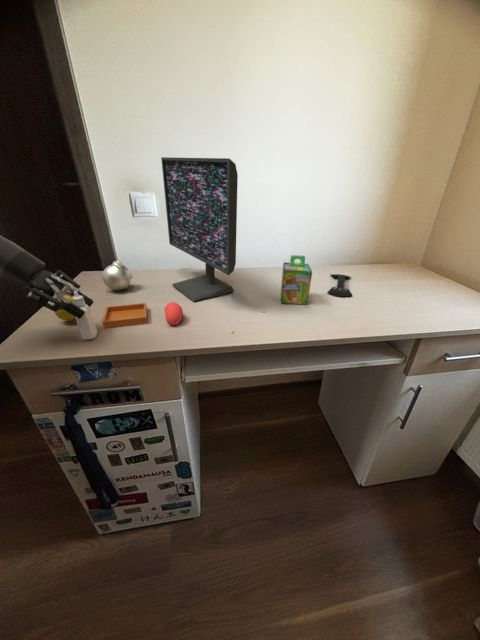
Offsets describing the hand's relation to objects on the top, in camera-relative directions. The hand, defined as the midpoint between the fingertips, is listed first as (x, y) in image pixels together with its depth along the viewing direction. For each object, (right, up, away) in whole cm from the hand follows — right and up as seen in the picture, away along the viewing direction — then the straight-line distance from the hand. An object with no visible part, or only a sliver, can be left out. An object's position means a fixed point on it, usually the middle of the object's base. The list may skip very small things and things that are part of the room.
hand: (87, 309), depth 70 cm
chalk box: (+55, +8, +29) cm, 62 cm away
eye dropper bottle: (-2, -6, +4) cm, 8 cm away
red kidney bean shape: (+18, -1, +13) cm, 22 cm away
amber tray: (+4, -1, +13) cm, 13 cm away
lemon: (-11, -2, +10) cm, 15 cm away
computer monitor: (+22, +12, +33) cm, 42 cm away
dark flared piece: (+75, +16, +42) cm, 87 cm away
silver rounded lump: (-7, +11, +31) cm, 33 cm away
